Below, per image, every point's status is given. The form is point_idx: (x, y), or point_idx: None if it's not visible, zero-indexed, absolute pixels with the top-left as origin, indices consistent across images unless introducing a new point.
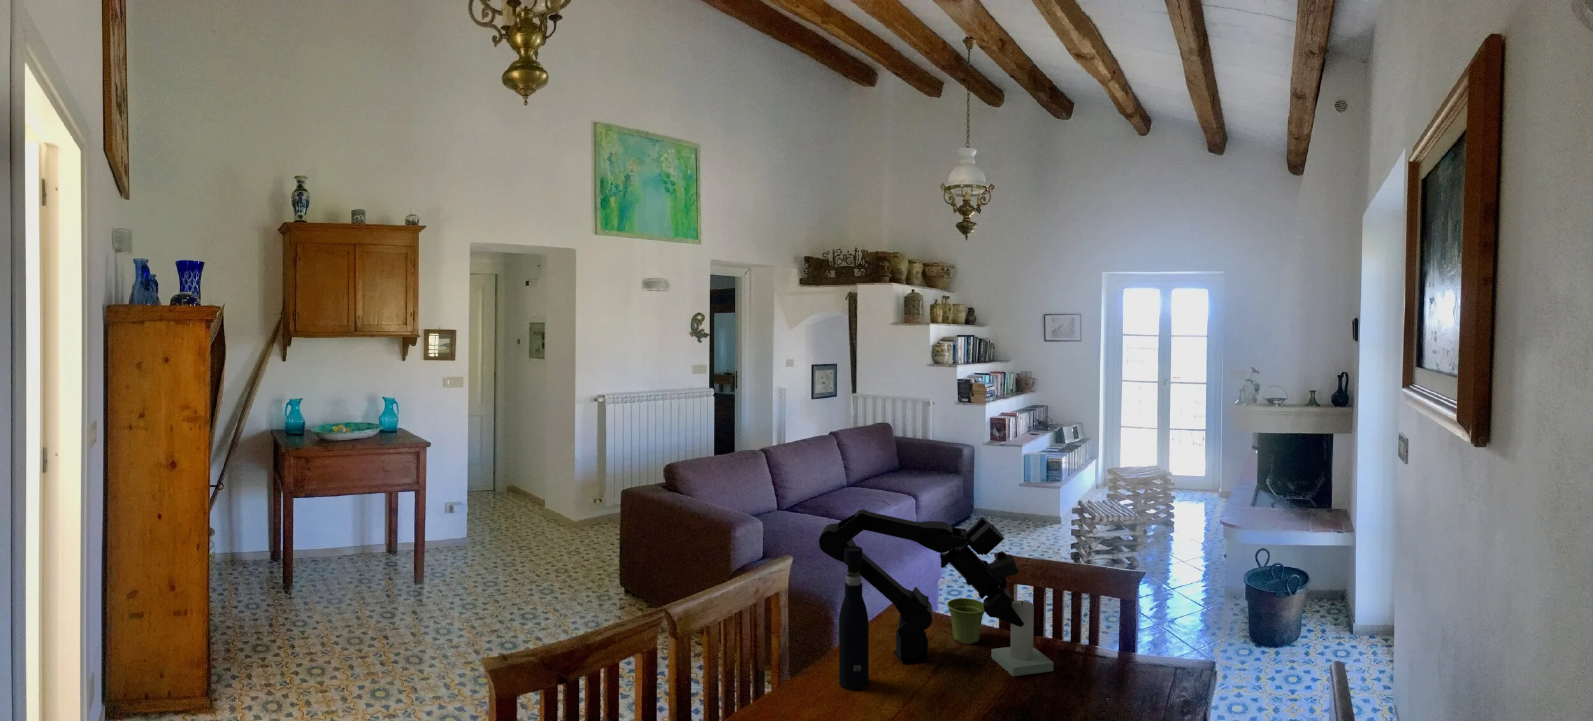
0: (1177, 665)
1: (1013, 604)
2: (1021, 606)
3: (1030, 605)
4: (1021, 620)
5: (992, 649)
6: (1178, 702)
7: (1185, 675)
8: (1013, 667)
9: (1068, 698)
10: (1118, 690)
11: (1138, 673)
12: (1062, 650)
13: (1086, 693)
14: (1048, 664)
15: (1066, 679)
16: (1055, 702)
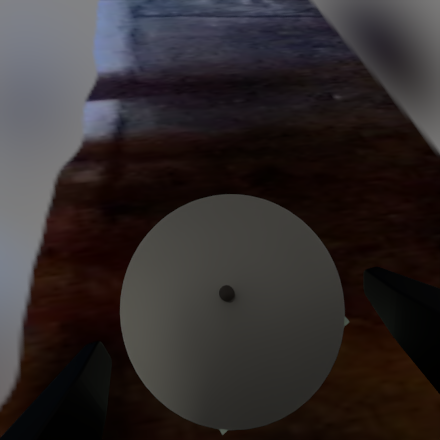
0: (126, 15)
1: (266, 390)
2: (289, 295)
3: (229, 219)
4: (411, 279)
5: (224, 429)
6: (287, 3)
7: (167, 3)
8: (346, 320)
9: (390, 164)
10: (287, 83)
11: (186, 61)
12: (106, 210)
13: (338, 134)
14: None
15: (284, 180)
16: (433, 188)
